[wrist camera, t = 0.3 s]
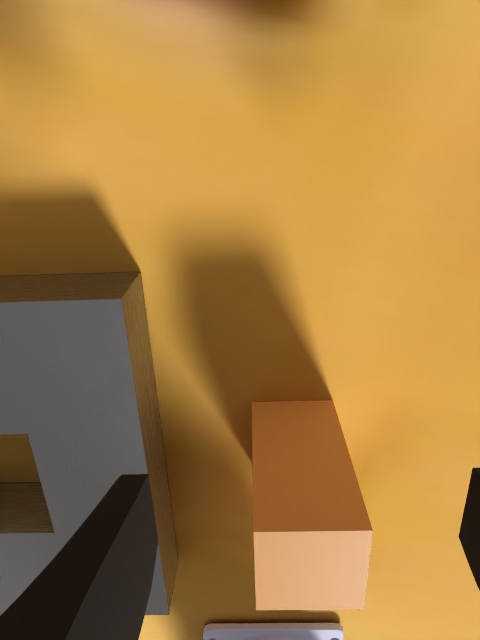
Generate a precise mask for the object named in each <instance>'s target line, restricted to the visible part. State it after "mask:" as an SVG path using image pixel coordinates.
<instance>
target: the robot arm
mask: <svg viewBox="0 0 480 640" xmlns="http://www.w3.org/2000/svg"><path fill="white" fill-rule="evenodd" d="M459 538H460V541H461V544H462V547H463V549H464V552H465V555H466V558H467V560H468V563H469V566H470V568H471V571H472V573H473V576H474V578H475V581H476V583H477V586H478V588H479V590H480V468H473V469H472V474H471V479H470V484H469V489H468V494H467V499H466V504H465V508H464V513H463V518H462V523H461V528H460V533H459ZM157 547H158V535H157V528H156V521H155V515H154V508H153V501H152V495H151V488H150V481H149V475H148V474H122V475H121V476H120V477H119V478H118V479H117V480H116V481H115V482H114V484H113V485H112V486H111V488H110V489H109V490H108V492H107V493H106V494H105V496H104V497H103V498H102V499H101V501H100V502H99V503H98V505H97V506H96V507H95V508H94V510H93V511H92V512H91V513H90V515H89V516H88V517H87V519H86V520H85V521H84V522H83V524H82V525H81V526H80V527H79V528H78V530H77V531H76V532H75V533H74V534H73V536H72V537H71V538H70V539H69V540H68V542H67V543H66V544H65V545H64V546H63V548H62V549H61V550H60V551H59V552H58V554H57V555H56V556H55V557H54V558H53V559H52V561H51V562H50V563H49V564H48V565H47V566H46V567H45V568H44V569H43V571H42V572H41V573H40V574H39V575H38V576H37V577H36V578H35V579H34V580H33V582H32V583H31V584H30V585H29V586H28V587H27V588H26V589H25V590H24V591H23V593H22V594H21V595H20V596H19V597H18V598H17V599H16V600H15V601H14V602H13V603H12V604H11V605H10V606H9V607H8V608H7V609H6V610H5V611H4V612H3V613H2V614H1V615H0V640H138V638H139V635H140V631H141V627H142V623H143V619H144V615H145V611H146V607H147V603H148V599H149V595H150V591H151V587H152V581H153V574H154V568H155V561H156V554H157ZM343 637H344V633H343V628H342V626H341V625H340V624H338V623H215V624H208V625H206V626H205V627H204V630H203V639H204V640H343Z"/></svg>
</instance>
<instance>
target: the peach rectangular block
mask: <svg viewBox="0 0 480 640" xmlns="http://www.w3.org/2000/svg"><path fill="white" fill-rule="evenodd" d="M252 466H253V536H254V565H255V594H256V610H353V609H364V605H365V596H366V587H367V578H368V569H369V560H370V551H371V542H372V533H373V530H372V527H371V523H370V520H369V517H368V514H367V510H366V507H365V504H364V501H363V497H362V494H361V491H360V488H359V484H358V481H357V478H356V474H355V471H354V468H353V465H352V461H351V458H350V455H349V452H348V448H347V445H346V442H345V439H344V435H343V432H342V429H341V426H340V422H339V419H338V416H337V413H336V409H335V406H334V403H333V400H315V401H270V402H252Z"/></svg>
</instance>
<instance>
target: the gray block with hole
mask: <svg viewBox="0 0 480 640" xmlns="http://www.w3.org/2000/svg"><path fill="white" fill-rule="evenodd" d="M1 434H28V438H29V442H30V445H31V449H32V452H33V456H34V460H35V463H36V467H37V471H38V474H39V478H40V481H41V483H0V615H1V614H2V613H3V612H4V611H5V610H6V609H7V608H8V607H9V606H10V605H11V604H12V603H13V602H14V601H15V600H16V599H17V598H18V597H19V596H20V595H21V594H22V593H23V591H24V590H25V589H26V588H27V587H28V586H29V585H30V584H31V583H32V582H33V580H34V579H35V578H36V577H37V576H38V575H39V574H40V573H41V572H42V571H43V569H44V568H45V567H46V566H47V565H48V564H49V563H50V562H51V561H52V559H53V558H54V557H55V556H56V555H57V554H58V552H59V551H60V550H61V549H62V548H63V546H64V545H65V544H66V543H67V542H68V540H69V539H70V538H71V537H72V536H73V534H74V533H75V532H76V531H77V530H78V528H79V527H80V526H81V525H82V524H83V522H84V521H85V520H86V519H87V517H88V516H89V515H90V513H91V512H92V511H93V510H94V508H95V507H96V506H97V505H98V503H99V502H100V501H101V499H102V498H103V497H104V496H105V494H106V493H107V492H108V490H109V489H110V488H111V486H112V485H113V484H114V482H115V481H116V480H117V479H118V478H119V477H120V476H121V475H122V474H148V475H149V481H150V488H151V495H152V501H153V508H154V515H155V521H156V528H157V535H158V547H157V554H156V561H155V568H154V574H153V581H152V587H151V591H150V595H149V599H148V603H147V607H146V611H145V615H169V612H170V606H171V600H172V594H173V588H174V581H175V575H176V569H177V563H178V553H177V546H176V538H175V530H174V523H173V515H172V507H171V500H170V492H169V484H168V477H167V469H166V461H165V454H164V446H163V438H162V430H161V423H160V415H159V407H158V400H157V392H156V384H155V377H154V369H153V361H152V354H151V346H150V338H149V331H148V323H147V315H146V307H145V300H144V292H143V284H142V277H141V272H122V273H90V274H57V275H25V276H0V435H1Z"/></svg>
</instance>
